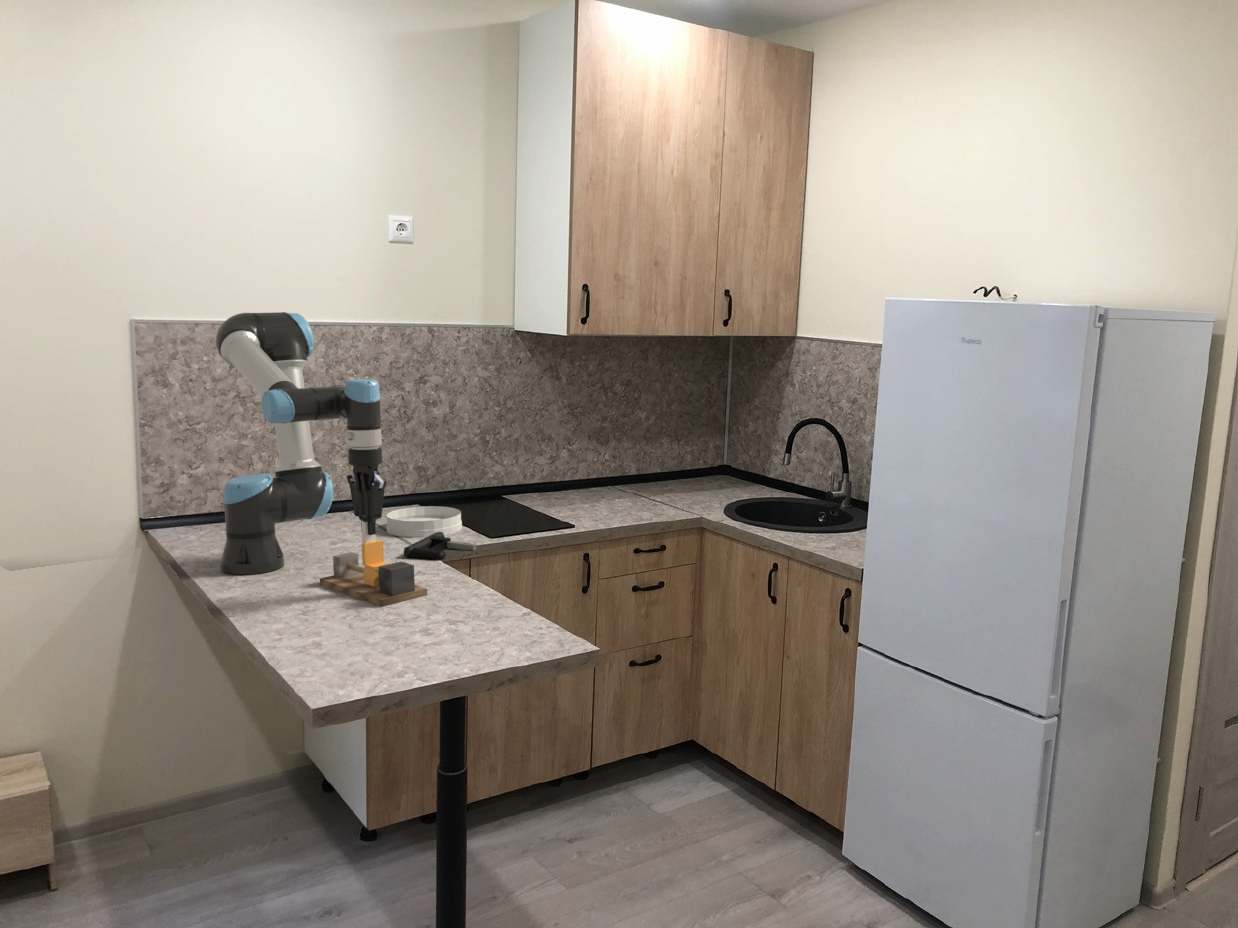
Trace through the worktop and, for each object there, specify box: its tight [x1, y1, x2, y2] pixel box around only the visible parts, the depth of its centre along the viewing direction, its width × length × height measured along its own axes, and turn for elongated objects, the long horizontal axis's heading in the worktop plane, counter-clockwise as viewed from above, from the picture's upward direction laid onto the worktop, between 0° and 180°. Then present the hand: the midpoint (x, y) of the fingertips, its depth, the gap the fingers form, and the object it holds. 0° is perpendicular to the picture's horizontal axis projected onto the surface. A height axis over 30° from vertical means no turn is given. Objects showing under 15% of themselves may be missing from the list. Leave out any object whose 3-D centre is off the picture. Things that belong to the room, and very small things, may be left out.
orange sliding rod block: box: [361, 539, 388, 587], centre depth 226 cm, size 4×5×10 cm
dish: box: [385, 505, 463, 538], centre depth 292 cm, size 22×22×5 cm
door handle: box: [403, 532, 477, 561], centre depth 265 cm, size 3×20×16 cm
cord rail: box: [319, 551, 428, 607], centre depth 228 cm, size 26×12×8 cm, turn 47°
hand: (369, 547), depth 227 cm, fingers closed
